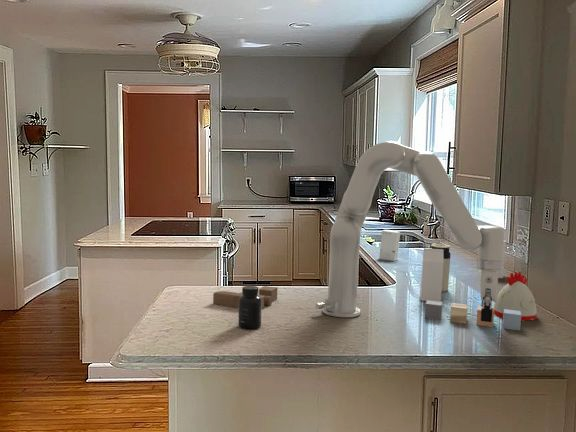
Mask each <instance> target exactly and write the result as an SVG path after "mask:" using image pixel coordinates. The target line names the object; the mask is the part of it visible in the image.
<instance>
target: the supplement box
mask: <svg viewBox="0 0 576 432" xmlns="http://www.w3.org/2000/svg"><path fill="white" fill-rule="evenodd" d="M506 245H507V241H506V240H504V246H503V261H502V271H498V279H504V272H505V260H506V247H507V246H506ZM478 274H480V275H481V270H479V273H478Z"/></svg>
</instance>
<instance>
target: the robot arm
mask: <svg viewBox="0 0 576 432" xmlns="http://www.w3.org/2000/svg"><path fill="white" fill-rule="evenodd" d="M387 169H392V170H396V171H398V172H401V173H405V174H408V175H413V176H416V177H417V179H418V180H419V182H420V184H421V186H422V188H423V190H424V191H425V193H426V194H427V196H428V199H429V200H430V202H431V204H432V206H433V207H434V209H435V210H436V211H437V213H439V214H440V215H441V218H443V220H444V221H445V223H446V224H447V226H448V228H449V229H450V231H451V233H452V239H453V240H454V242H455V243H456V244H457V245H458V246H459V247H460V248H462V250H464V251H466V252H467V251H470V252H471V251H472V252H473V251H475V250H477V259H476V260H477V261H476V263H477V264H476V270H479V271H480V270H481V274H480V279H479V294H480V296H479V298H480V301H481V305H480V306H482V309H481V321H485V322H491V321H492V308H493V302H494V303H496V302H497V293H498V289H499V287H498V286H499V278H498V271H502V261H503V246H504V241H505V230H504V228H503V227H502V226H498V225H478V224H476V221H475V220H474V218H473V216H472V214H471V212H470V211H469V209H468V208H467V206H466V204H465V202H464V201H463V200H462V197H461V195H460V194H459V192H458V190H457V188H456V187H455V185H454V183H453V182H452V180H451V178H450V176H449V175H448V172H447V171H446V170H445V167H444V166H443V164H442V162H441V160H440V159H439V157H438V156H437V155H436V154H434V153H433V152H431V151H423V150H419V149H415V148H411V147H410V146H405V145H403V144H402V143H399V142H397V141H394V140H390V141H389V140H387V141H383V142H379V143H376V144H374V145H372V146H371V147H369V148H368V149H367V150H365V151H364V152H363V153H362V155H361V156H360V158H359V159H358V161H357V164H355V168H354V170H353V173H352V176H351V178H350V180H349V184H348V186H347V189H346V190H345V191H344V194H343V196H342V200H341V202H340V205H339V208H338V211H337V213H336V216H335V220H334V222H333V224H332V226H331V229H330V234H329V235H330V236H329V264H328V265H329V266H328V267H329V269H328V271H329V272H328V284H327V285H328V287H327V288H328V290H327V298H325V299H324V301H323V302H317V303H315V309H316V310H321V309H322V312H323V313H324V314H325V315H327V316H331V317H336V318H355V317H359V316H360V315H361V313H362V310H361V309H360V308H359V307H357V302H358V301H357V300H358V299H357V298H358V282H359V281H358V280H359V264H360V263H359V261H360V260H359V259H360V247H361V246H360V245H361V244H360V243H361V231H362V228H363V226H364V223H365V220H366V217H367V215H368V212H369V209H370V208H371V206H372V201H373V197H374V195H375V190H376V188H377V186H378V183H379V181H380V180H381V179H380V178H381V177H382V176H381V175H382V174H383V173H384V172H385V171H386V170H387Z"/></svg>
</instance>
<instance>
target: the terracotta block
mask: <svg viewBox="0 0 576 432" xmlns="http://www.w3.org/2000/svg"><path fill="white" fill-rule="evenodd" d="M481 309H482V306H481V305H480V306H479V305H477V309H476V323H475V324H476V326H483V327H491V328H493V327H494V319H495V318H494V317H495V315H494V308H493V307H492V321H491V322H485V321H481Z"/></svg>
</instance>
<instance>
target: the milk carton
mask: <svg viewBox="0 0 576 432" xmlns="http://www.w3.org/2000/svg"><path fill="white" fill-rule="evenodd" d="M443 252H444V250H442V249H432V248H428V247H427V248H426V247H425V248H423V251H422V253H423V254H422V263H421V264H422V265H421V280H420V291H419V292H420V301H424V302H427V300H430V301H438V302H442V301H441V300H442V292H441V290H442V276H443Z"/></svg>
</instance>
